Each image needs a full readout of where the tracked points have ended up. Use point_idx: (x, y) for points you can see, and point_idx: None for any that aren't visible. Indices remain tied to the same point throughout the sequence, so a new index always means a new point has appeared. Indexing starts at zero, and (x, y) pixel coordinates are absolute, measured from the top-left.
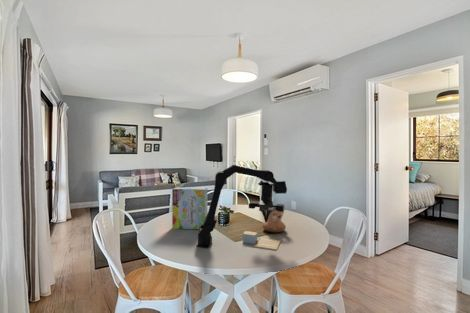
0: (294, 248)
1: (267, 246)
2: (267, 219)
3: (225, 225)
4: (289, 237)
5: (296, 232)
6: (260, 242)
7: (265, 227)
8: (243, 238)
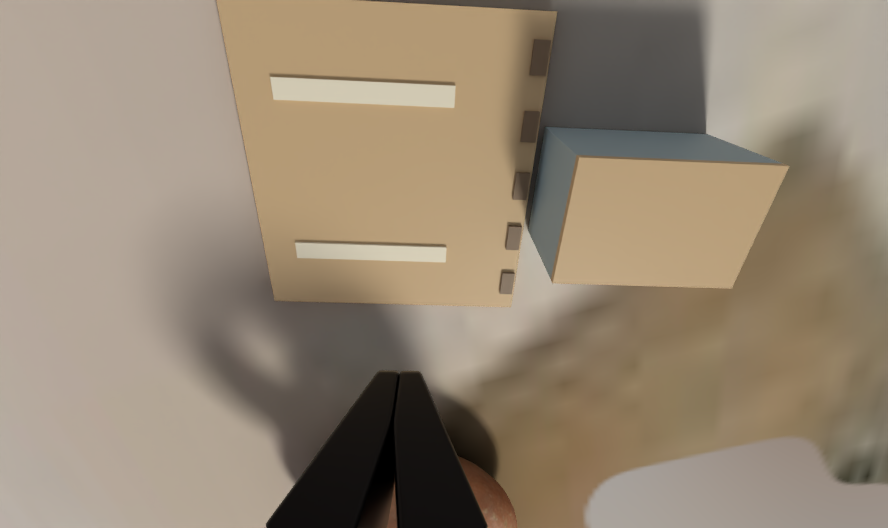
0: (54, 150)
1: (365, 56)
2: (334, 431)
3: (848, 476)
4: (235, 403)
5: (223, 501)
6: (481, 166)
7: (479, 483)
8: (728, 145)
